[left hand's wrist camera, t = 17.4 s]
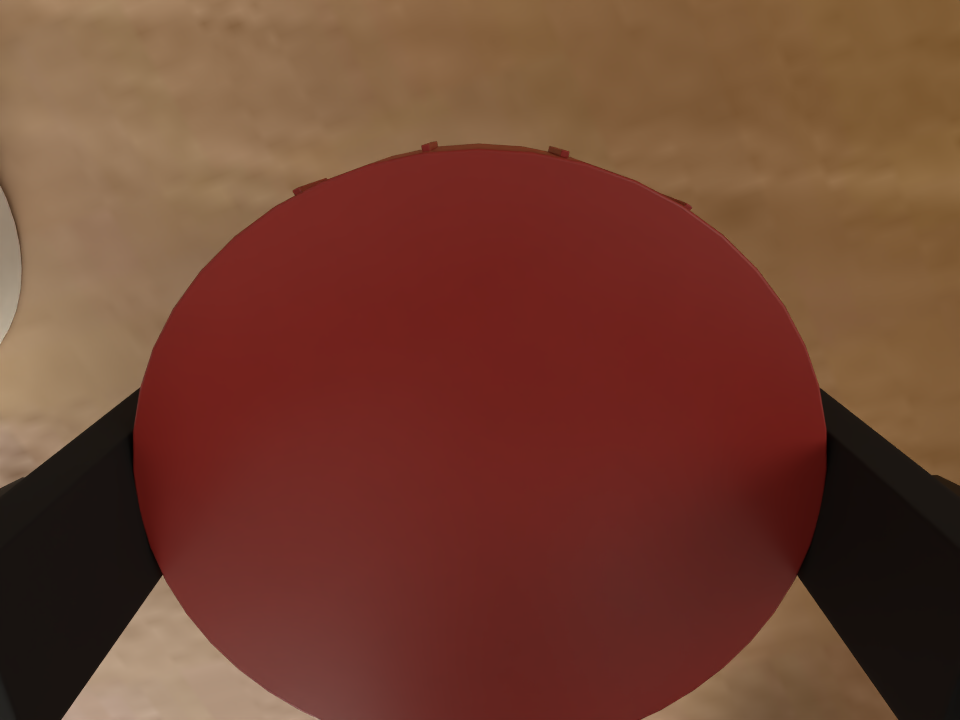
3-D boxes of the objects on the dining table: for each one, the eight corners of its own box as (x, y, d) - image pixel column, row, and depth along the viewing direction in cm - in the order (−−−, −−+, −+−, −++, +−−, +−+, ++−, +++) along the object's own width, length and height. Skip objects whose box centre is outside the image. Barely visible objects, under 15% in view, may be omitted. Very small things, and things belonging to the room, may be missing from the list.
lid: (610, 713, 15) (633, 816, 12) (138, 565, 13) (70, 652, 11) (884, 291, 11) (983, 332, 9) (282, 27, 10) (224, -2, 7)
